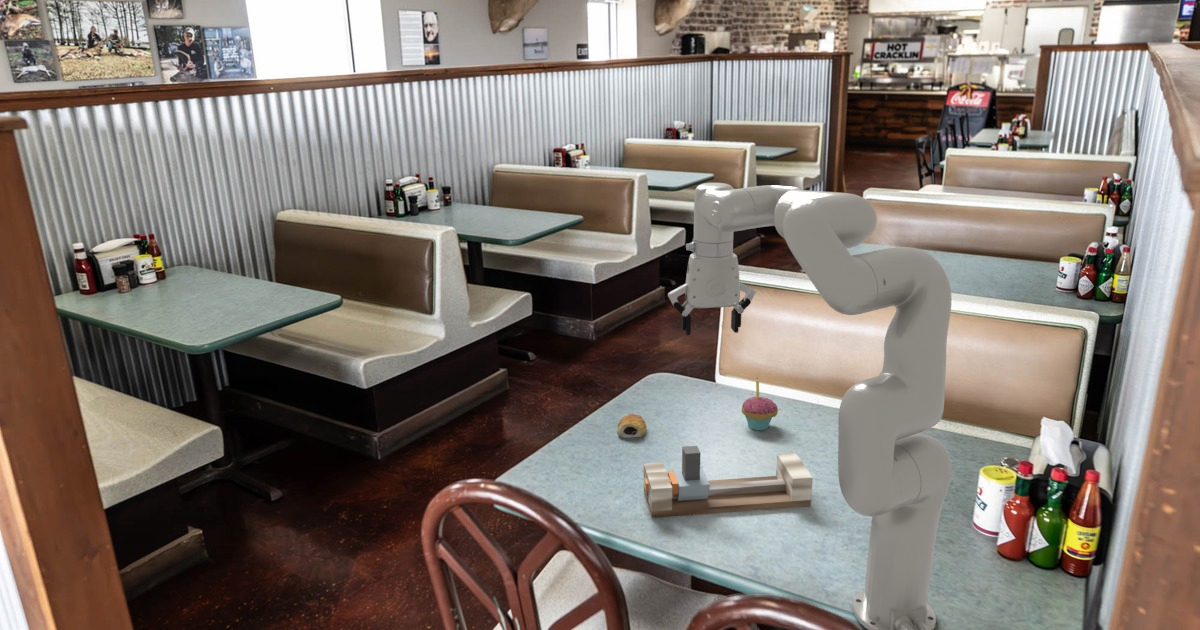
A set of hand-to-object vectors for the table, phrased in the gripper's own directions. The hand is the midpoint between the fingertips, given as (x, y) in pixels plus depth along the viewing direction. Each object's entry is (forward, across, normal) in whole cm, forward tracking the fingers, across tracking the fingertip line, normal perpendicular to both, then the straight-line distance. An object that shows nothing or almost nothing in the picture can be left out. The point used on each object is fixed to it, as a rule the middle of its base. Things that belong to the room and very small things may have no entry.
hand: (710, 331), depth 163 cm
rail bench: (+33, +2, -8) cm, 34 cm away
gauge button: (+30, -11, -8) cm, 33 cm away
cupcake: (+34, +18, +23) cm, 44 cm away
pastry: (+34, -13, +25) cm, 44 cm away
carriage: (+31, -5, -8) cm, 33 cm away
